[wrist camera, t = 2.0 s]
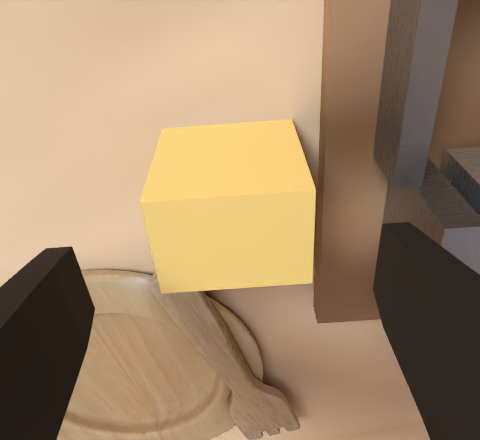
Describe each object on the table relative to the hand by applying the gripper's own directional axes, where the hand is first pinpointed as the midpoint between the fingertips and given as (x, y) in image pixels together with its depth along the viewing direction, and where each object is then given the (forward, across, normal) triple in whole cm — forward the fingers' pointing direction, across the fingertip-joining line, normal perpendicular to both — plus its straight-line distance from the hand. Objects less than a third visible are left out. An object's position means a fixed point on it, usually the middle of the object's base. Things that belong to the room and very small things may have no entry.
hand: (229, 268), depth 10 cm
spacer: (+5, 0, 0) cm, 5 cm away
